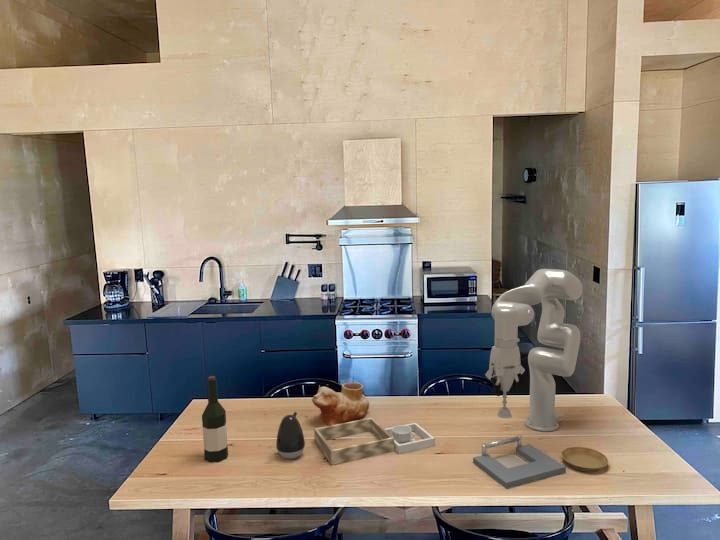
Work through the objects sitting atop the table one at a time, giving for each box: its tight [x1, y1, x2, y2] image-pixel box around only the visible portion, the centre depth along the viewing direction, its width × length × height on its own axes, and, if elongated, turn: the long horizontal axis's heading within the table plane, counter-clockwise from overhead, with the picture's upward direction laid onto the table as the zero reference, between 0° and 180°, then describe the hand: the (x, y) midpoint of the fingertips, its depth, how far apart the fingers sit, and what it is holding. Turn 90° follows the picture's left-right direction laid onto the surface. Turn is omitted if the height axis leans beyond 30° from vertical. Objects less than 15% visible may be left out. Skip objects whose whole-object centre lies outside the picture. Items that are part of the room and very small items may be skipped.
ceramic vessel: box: [311, 382, 370, 426], centre depth 221 cm, size 14×26×15 cm, turn 123°
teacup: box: [392, 424, 416, 444], centre depth 200 cm, size 10×10×5 cm
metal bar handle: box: [481, 434, 523, 456], centre depth 186 cm, size 17×2×6 cm, turn 112°
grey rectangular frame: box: [472, 443, 567, 490], centre depth 178 cm, size 24×18×2 cm
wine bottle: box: [201, 375, 229, 464], centre depth 188 cm, size 8×8×30 cm
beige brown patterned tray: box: [313, 417, 395, 466], centre depth 196 cm, size 24×20×5 cm
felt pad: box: [494, 453, 528, 468], centre depth 182 cm, size 9×9×1 cm
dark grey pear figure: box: [275, 411, 306, 460], centre depth 190 cm, size 10×10×15 cm
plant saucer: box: [561, 446, 609, 473], centre depth 180 cm, size 15×15×3 cm
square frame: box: [384, 422, 436, 455], centre depth 199 cm, size 15×15×3 cm
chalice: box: [496, 367, 515, 419], centre depth 182 cm, size 7×7×18 cm
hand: (504, 393), depth 182 cm, fingers closed on chalice, 6 cm apart
